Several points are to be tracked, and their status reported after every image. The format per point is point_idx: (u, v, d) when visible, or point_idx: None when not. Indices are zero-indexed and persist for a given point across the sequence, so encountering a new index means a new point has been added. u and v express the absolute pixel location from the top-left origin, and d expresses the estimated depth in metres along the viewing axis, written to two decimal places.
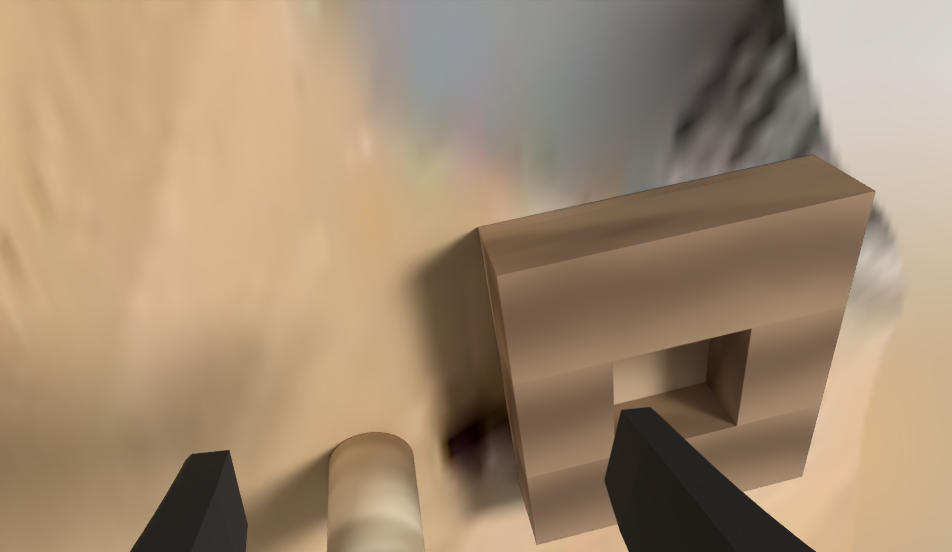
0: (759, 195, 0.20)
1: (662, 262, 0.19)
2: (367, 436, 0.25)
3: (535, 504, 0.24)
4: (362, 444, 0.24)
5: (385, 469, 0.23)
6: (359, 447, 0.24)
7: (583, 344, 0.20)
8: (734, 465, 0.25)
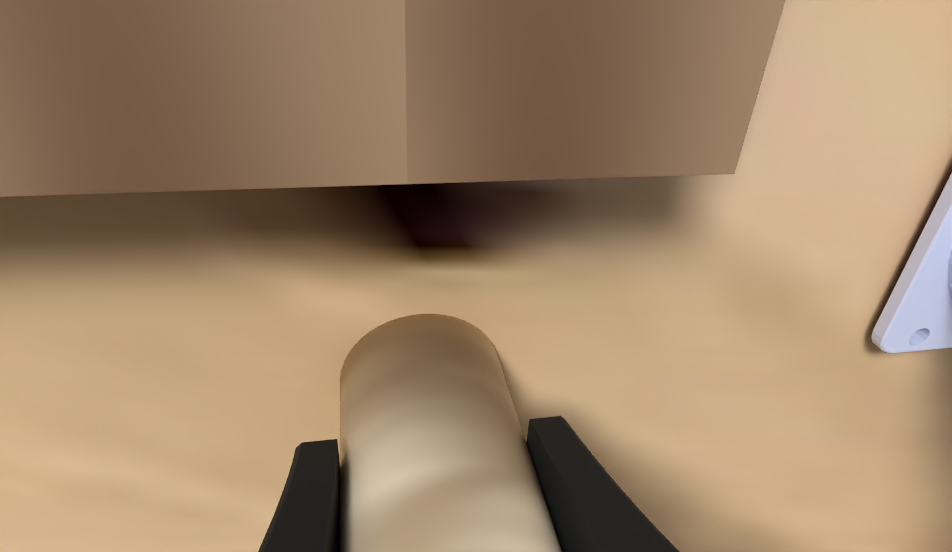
0: None
1: None
2: (340, 383, 0.13)
3: (542, 166, 0.08)
4: None
5: (348, 422, 0.11)
6: None
7: None
8: None
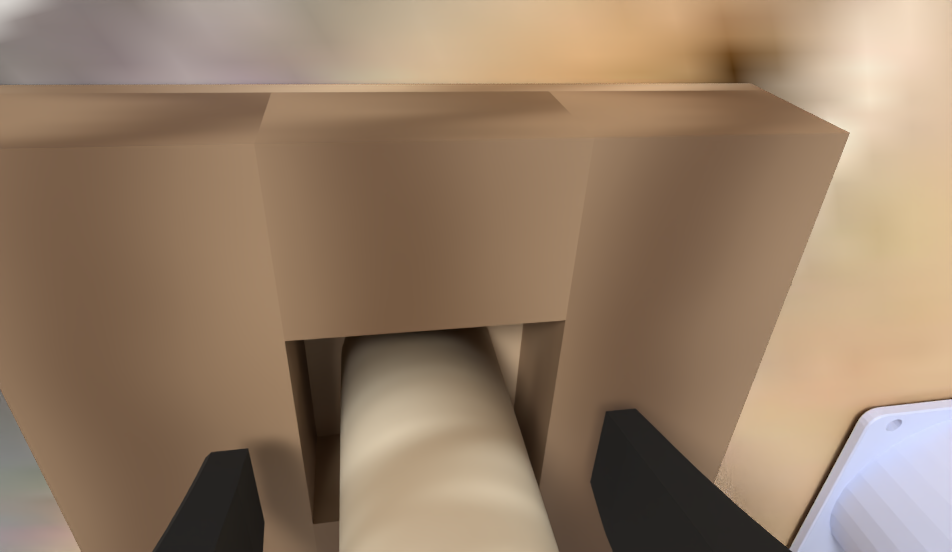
0: None
1: (105, 494, 0.12)
2: (341, 359, 0.14)
3: None
4: None
5: (347, 392, 0.12)
6: None
7: None
8: (690, 303, 0.12)
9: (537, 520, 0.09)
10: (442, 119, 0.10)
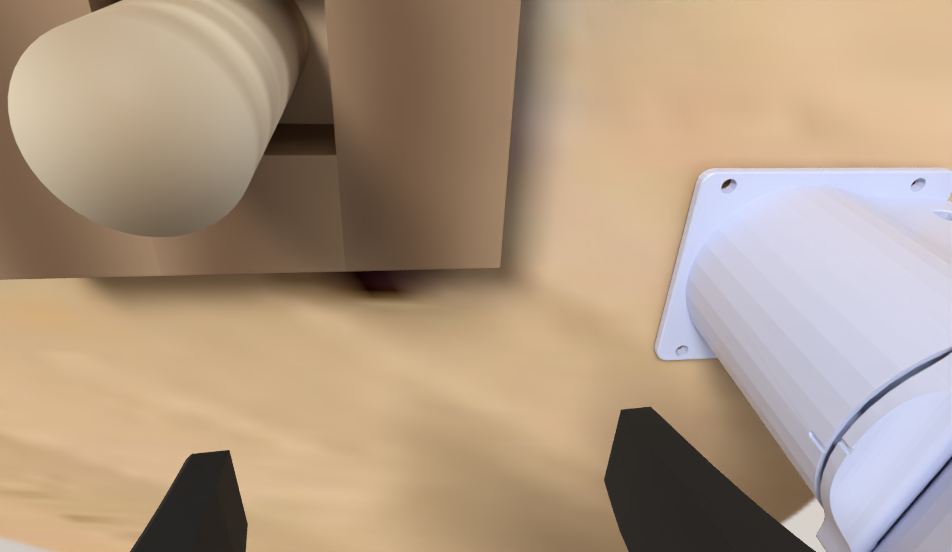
0: None
1: None
2: None
3: (406, 264, 0.18)
4: None
5: None
6: None
7: None
8: None
9: (241, 29, 0.11)
10: None
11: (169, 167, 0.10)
